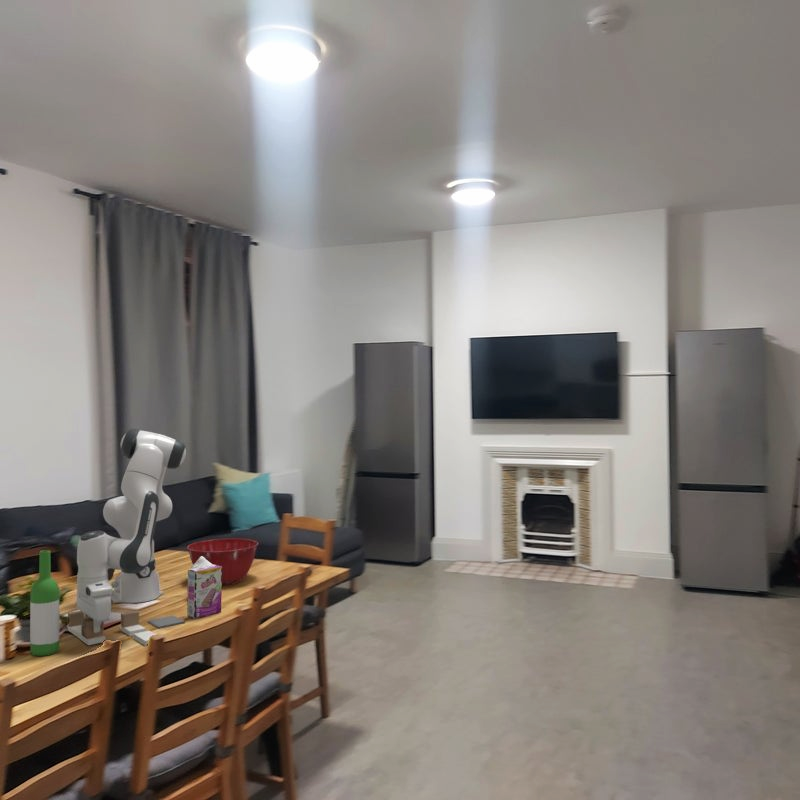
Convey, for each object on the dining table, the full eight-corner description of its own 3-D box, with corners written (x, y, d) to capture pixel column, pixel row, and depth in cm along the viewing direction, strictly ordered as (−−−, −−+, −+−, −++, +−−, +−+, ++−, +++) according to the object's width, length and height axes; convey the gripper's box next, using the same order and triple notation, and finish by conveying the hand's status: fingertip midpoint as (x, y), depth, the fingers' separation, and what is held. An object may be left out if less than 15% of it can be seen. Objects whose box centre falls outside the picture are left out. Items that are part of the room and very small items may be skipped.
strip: (67, 629, 236) (67, 612, 236) (83, 626, 239) (83, 609, 239) (88, 645, 221) (88, 627, 221) (105, 641, 224) (105, 623, 224)
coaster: (147, 622, 245) (147, 620, 245) (173, 617, 251) (173, 615, 251) (158, 628, 238) (158, 626, 238) (184, 623, 244) (184, 621, 244)
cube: (81, 635, 226) (81, 619, 226) (97, 631, 229) (97, 615, 229) (86, 639, 222) (86, 622, 222) (103, 635, 226) (103, 619, 226)
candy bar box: (195, 619, 248) (195, 571, 248) (186, 617, 251) (186, 569, 251) (222, 612, 257) (222, 565, 257) (213, 609, 260) (213, 563, 260)
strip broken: (120, 630, 237) (120, 613, 237) (135, 627, 240) (135, 610, 240) (145, 645, 222) (145, 627, 222) (161, 642, 225) (161, 624, 225)
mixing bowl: (175, 580, 302) (175, 543, 302) (237, 570, 320) (237, 535, 320) (206, 594, 280) (206, 554, 280) (271, 582, 299) (271, 544, 299)
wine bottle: (30, 650, 218) (30, 549, 218) (59, 646, 221) (59, 547, 221) (29, 658, 211) (29, 554, 211) (59, 654, 214) (59, 552, 214)
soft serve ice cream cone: (196, 595, 279) (196, 553, 279) (217, 595, 279) (217, 553, 279) (187, 601, 271) (187, 557, 271) (209, 601, 270) (209, 558, 270)
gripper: (71, 580, 232) (71, 623, 232) (93, 593, 216) (93, 639, 216) (91, 577, 236) (91, 619, 236) (114, 589, 220) (114, 635, 220)
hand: (92, 629), depth 226 cm, fingers closed on cube, 5 cm apart
